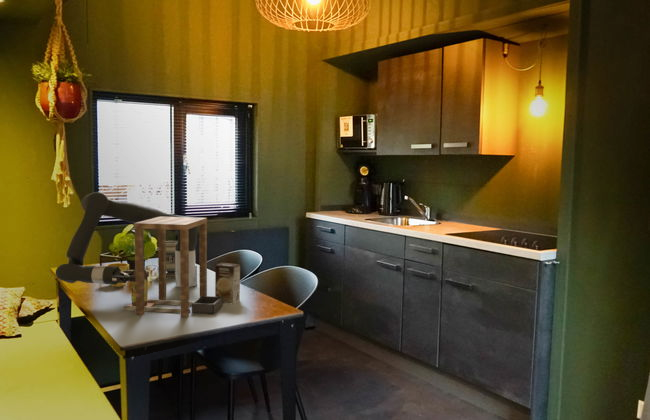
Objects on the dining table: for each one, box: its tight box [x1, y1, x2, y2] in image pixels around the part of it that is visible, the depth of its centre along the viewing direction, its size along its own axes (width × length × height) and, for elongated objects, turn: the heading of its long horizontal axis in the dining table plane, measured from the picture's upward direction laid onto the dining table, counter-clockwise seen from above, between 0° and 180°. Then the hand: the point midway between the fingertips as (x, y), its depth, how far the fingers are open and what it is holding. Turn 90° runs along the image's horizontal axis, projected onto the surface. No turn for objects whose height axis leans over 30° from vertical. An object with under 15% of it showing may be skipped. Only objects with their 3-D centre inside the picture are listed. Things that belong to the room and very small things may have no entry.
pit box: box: [191, 295, 224, 315], centre depth 223 cm, size 9×12×4 cm
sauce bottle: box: [131, 257, 149, 306], centre depth 225 cm, size 6×6×20 cm
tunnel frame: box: [123, 216, 208, 319], centre depth 224 cm, size 28×25×36 cm
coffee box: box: [214, 262, 241, 305], centre depth 237 cm, size 9×6×16 cm
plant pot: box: [105, 262, 130, 288], centre depth 262 cm, size 10×10×10 cm
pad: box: [128, 303, 157, 307], centre depth 226 cm, size 9×10×1 cm
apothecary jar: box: [166, 240, 178, 279], centre depth 284 cm, size 12×12×18 cm
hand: (144, 276), depth 225 cm, fingers open, 8 cm apart
